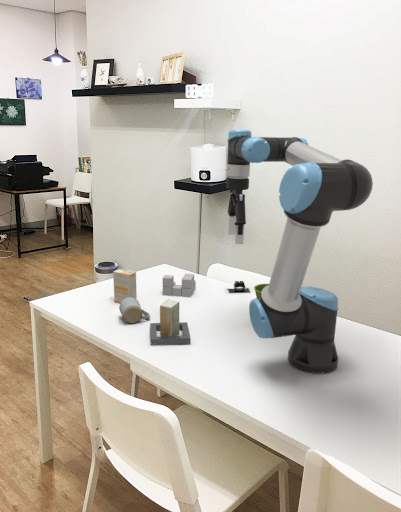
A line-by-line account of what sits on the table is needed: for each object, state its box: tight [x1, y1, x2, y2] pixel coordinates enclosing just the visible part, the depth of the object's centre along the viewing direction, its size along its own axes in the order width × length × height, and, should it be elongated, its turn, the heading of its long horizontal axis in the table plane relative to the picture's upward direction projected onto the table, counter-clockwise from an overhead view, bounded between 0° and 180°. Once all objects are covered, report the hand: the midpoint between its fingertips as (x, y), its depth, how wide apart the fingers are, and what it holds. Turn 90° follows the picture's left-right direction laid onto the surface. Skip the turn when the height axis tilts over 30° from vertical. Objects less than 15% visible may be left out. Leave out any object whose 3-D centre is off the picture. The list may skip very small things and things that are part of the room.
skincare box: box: [159, 299, 180, 336], centre depth 164 cm, size 6×4×12 cm
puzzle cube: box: [162, 273, 197, 298], centre depth 209 cm, size 12×12×8 cm
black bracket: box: [227, 280, 251, 294], centre depth 212 cm, size 12×7×5 cm, turn 97°
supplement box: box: [112, 268, 138, 304], centre depth 194 cm, size 8×5×13 cm, turn 58°
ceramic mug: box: [118, 297, 151, 324], centre depth 178 cm, size 11×8×8 cm
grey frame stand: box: [149, 321, 192, 346], centre depth 175 cm, size 31×13×2 cm, turn 6°
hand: (235, 239), depth 169 cm, fingers open, 13 cm apart
